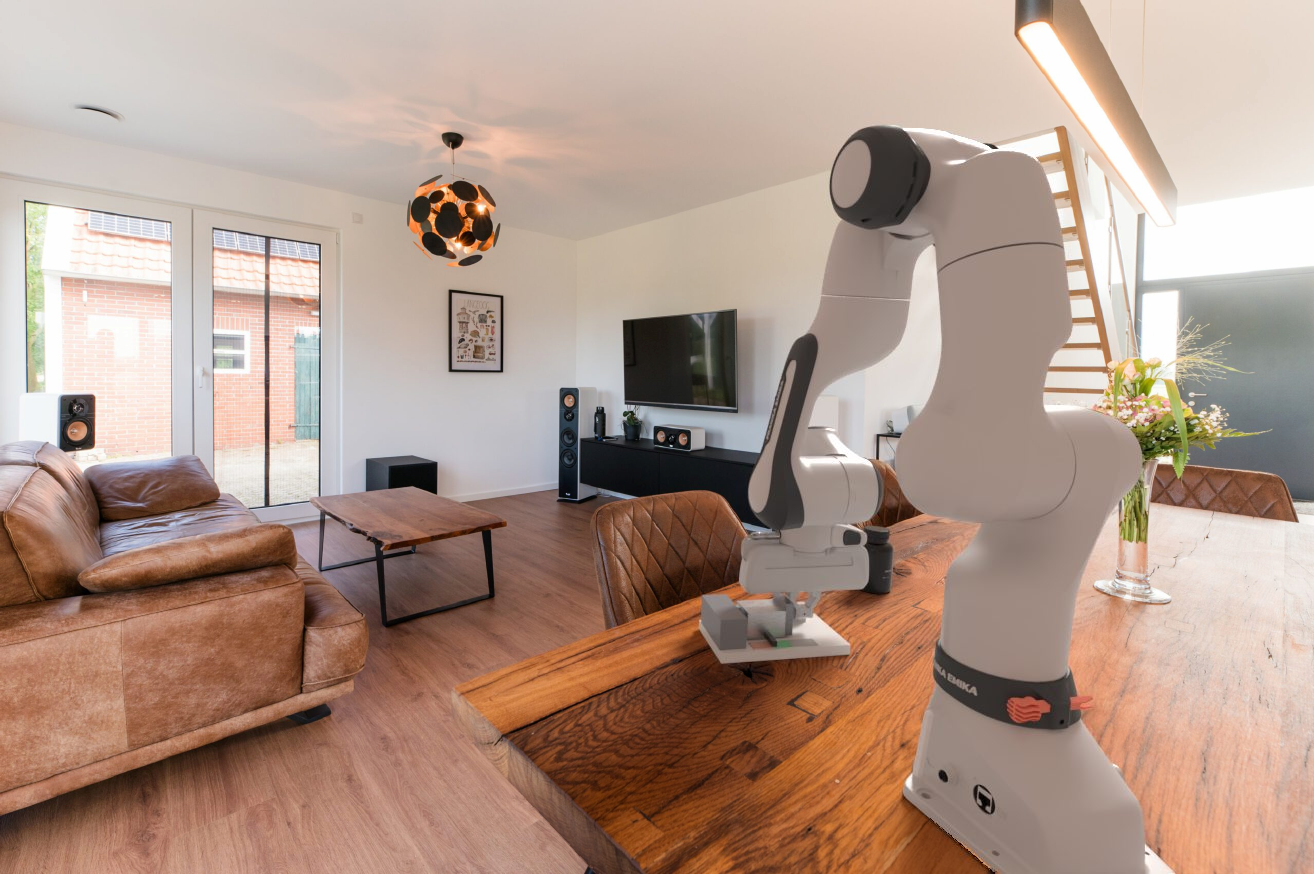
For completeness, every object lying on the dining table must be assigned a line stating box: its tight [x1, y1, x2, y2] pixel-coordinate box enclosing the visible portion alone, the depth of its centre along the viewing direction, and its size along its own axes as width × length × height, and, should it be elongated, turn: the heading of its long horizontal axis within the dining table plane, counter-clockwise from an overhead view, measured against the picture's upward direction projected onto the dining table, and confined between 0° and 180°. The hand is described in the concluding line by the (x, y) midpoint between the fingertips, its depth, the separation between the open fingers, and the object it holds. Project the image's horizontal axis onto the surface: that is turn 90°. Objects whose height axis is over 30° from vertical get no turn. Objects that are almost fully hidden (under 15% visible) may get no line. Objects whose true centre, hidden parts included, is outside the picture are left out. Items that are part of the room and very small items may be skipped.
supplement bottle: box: [858, 525, 895, 595], centre depth 121 cm, size 7×7×12 cm
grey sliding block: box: [736, 593, 794, 647], centre depth 94 cm, size 8×7×5 cm
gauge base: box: [698, 593, 852, 664], centre depth 96 cm, size 12×20×6 cm, turn 102°
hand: (801, 617), depth 97 cm, fingers closed
